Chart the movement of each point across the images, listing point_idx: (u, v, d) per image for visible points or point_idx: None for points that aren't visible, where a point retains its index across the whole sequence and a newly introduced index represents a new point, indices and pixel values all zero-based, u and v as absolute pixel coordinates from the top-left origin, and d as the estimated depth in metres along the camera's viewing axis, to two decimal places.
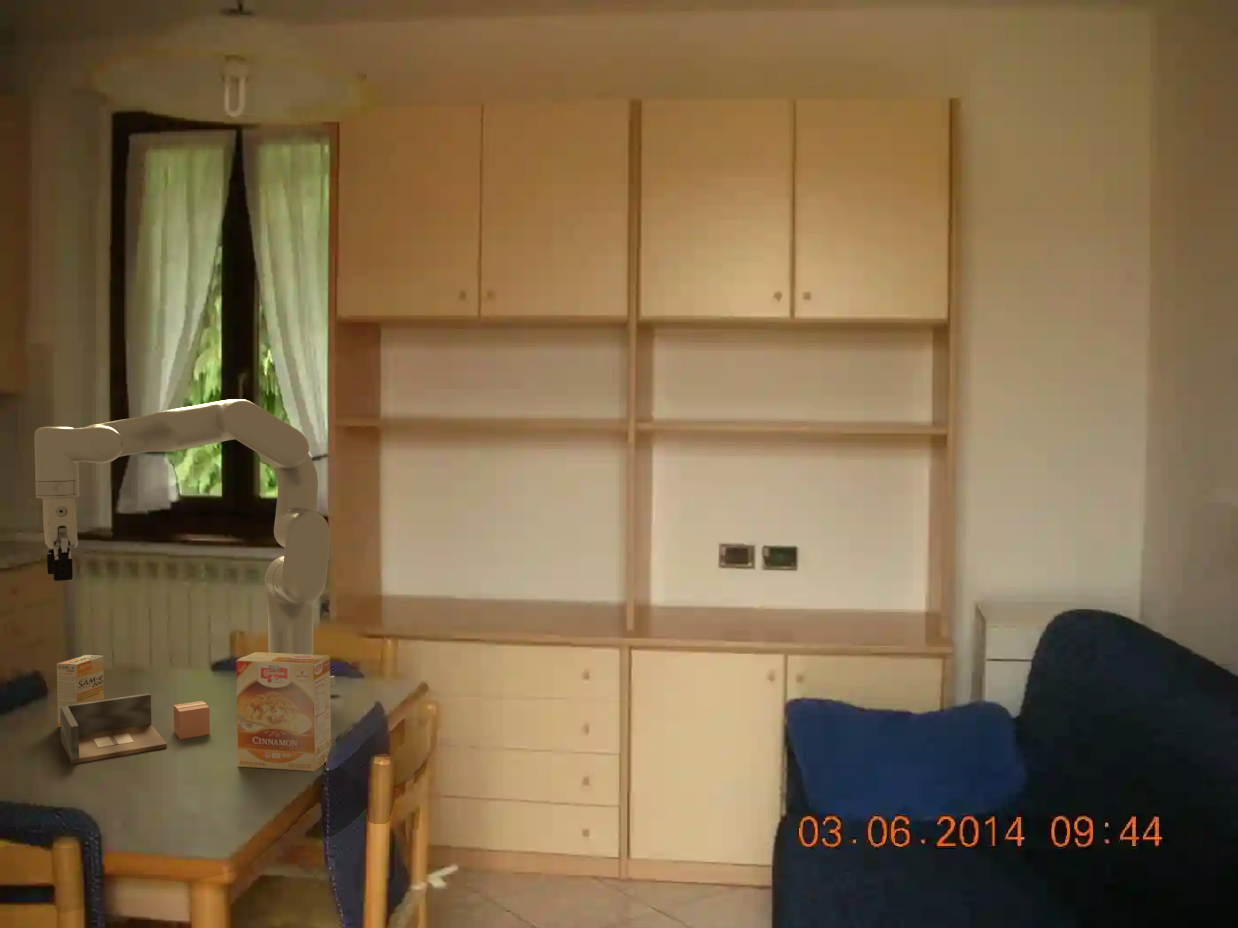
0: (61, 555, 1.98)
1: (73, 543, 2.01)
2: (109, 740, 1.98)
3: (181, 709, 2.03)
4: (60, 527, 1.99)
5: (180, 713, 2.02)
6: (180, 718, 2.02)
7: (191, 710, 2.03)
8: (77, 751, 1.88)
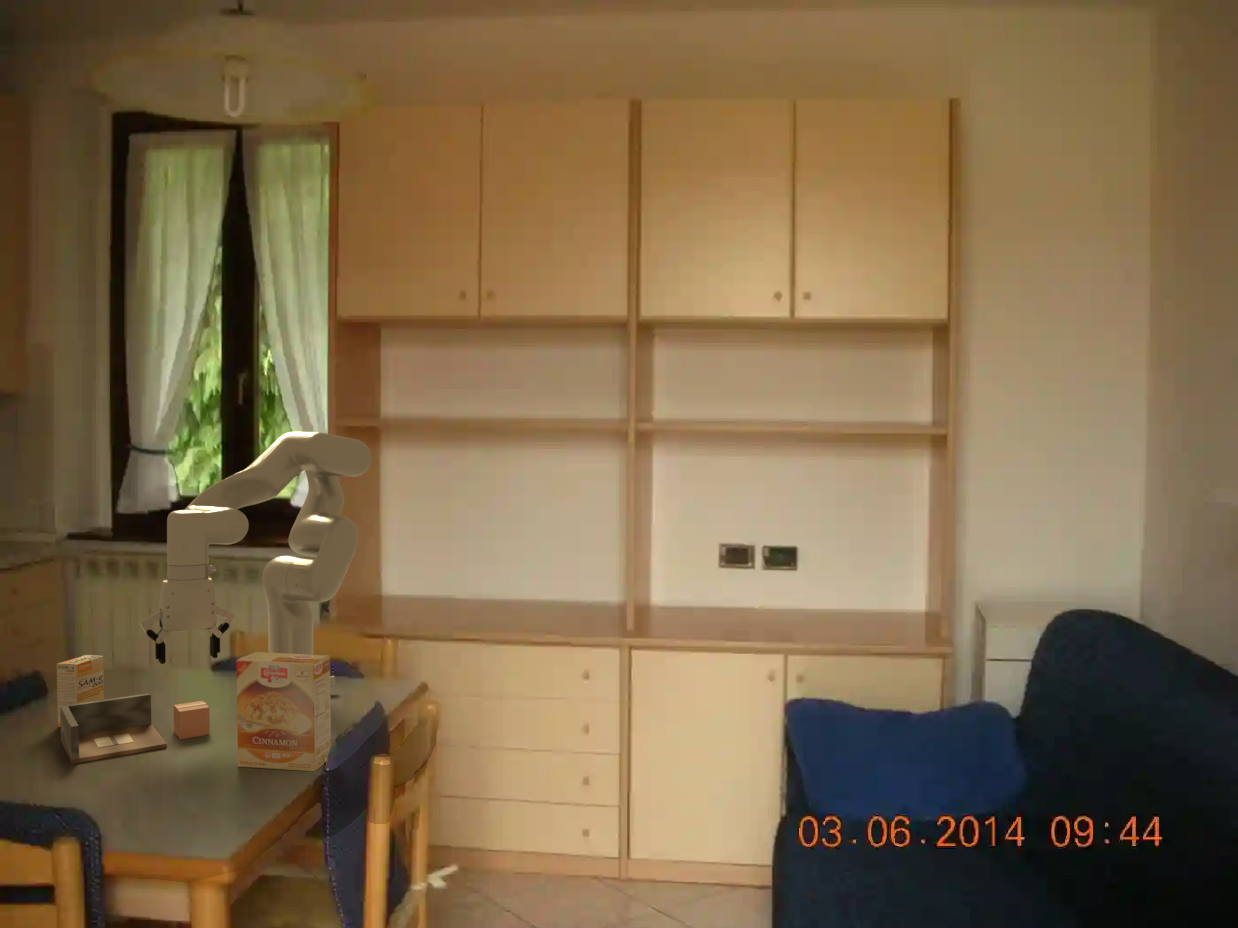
0: None
1: None
2: (109, 740, 1.98)
3: (181, 709, 2.03)
4: None
5: (180, 713, 2.02)
6: (180, 718, 2.02)
7: (191, 710, 2.03)
8: (77, 751, 1.88)
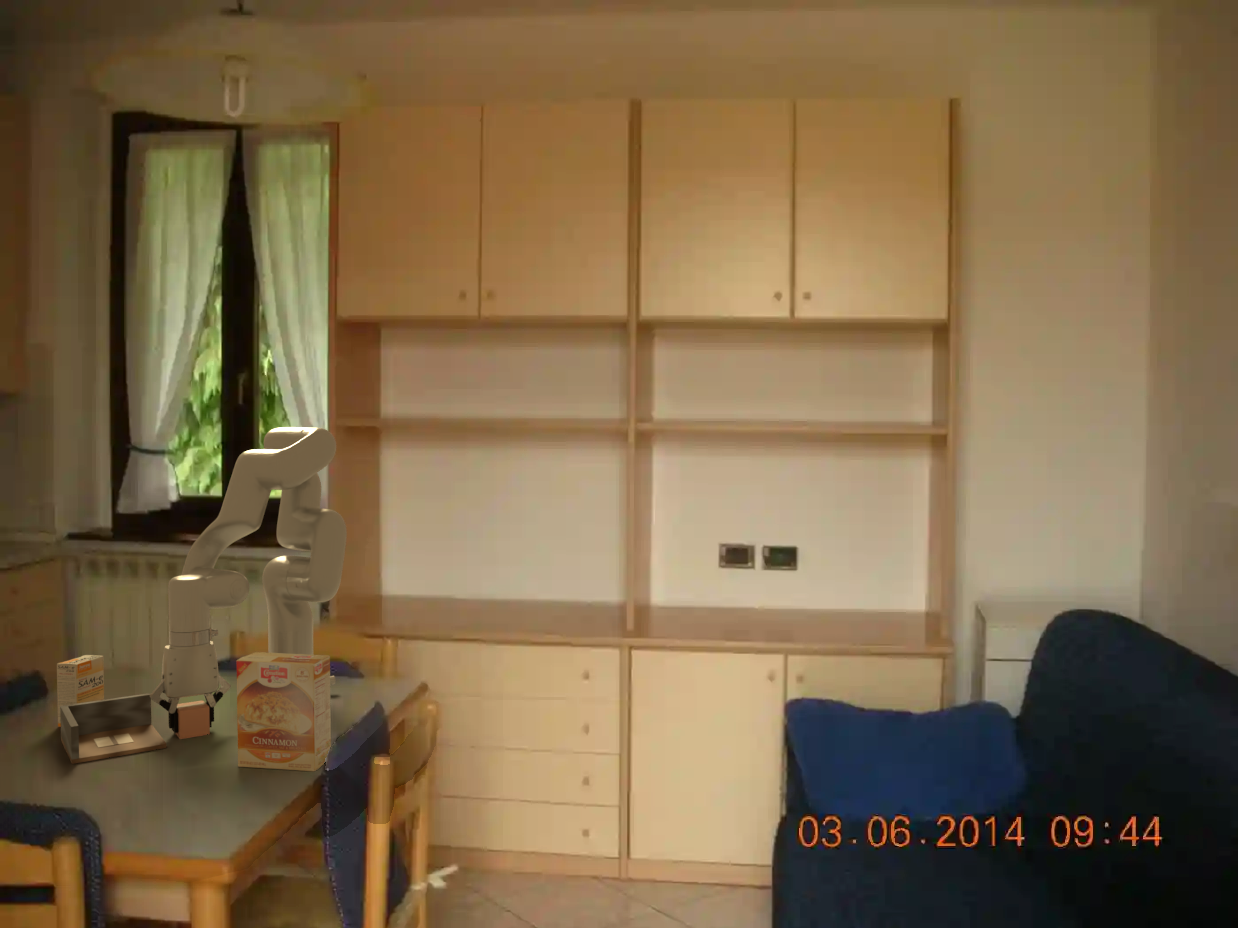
0: None
1: None
2: (109, 740, 1.98)
3: (181, 709, 2.03)
4: None
5: (180, 713, 2.02)
6: (180, 718, 2.02)
7: (191, 710, 2.03)
8: (77, 751, 1.88)
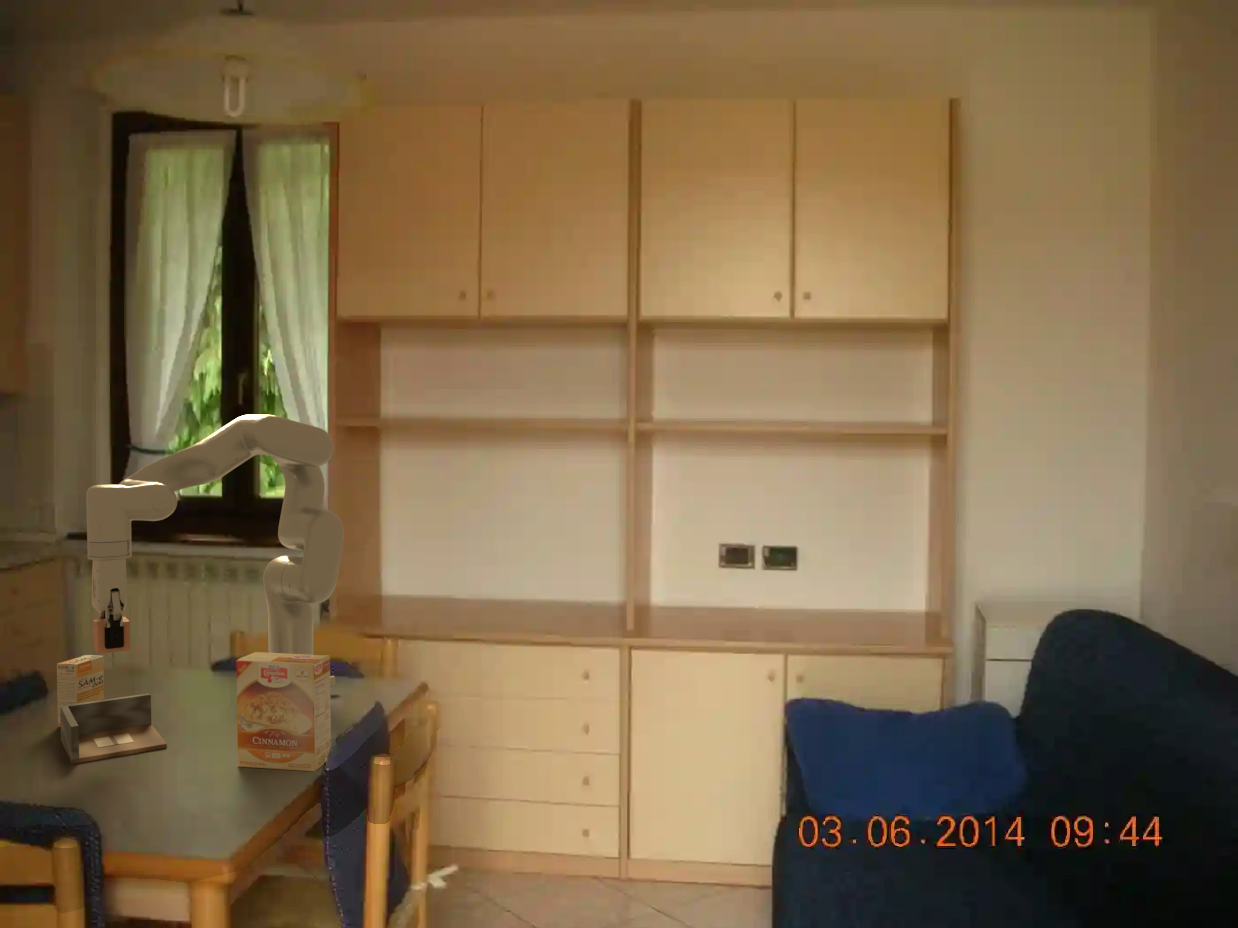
0: None
1: None
2: (109, 740, 1.98)
3: None
4: None
5: (129, 623, 1.97)
6: (129, 628, 1.97)
7: (127, 620, 1.98)
8: (77, 751, 1.88)
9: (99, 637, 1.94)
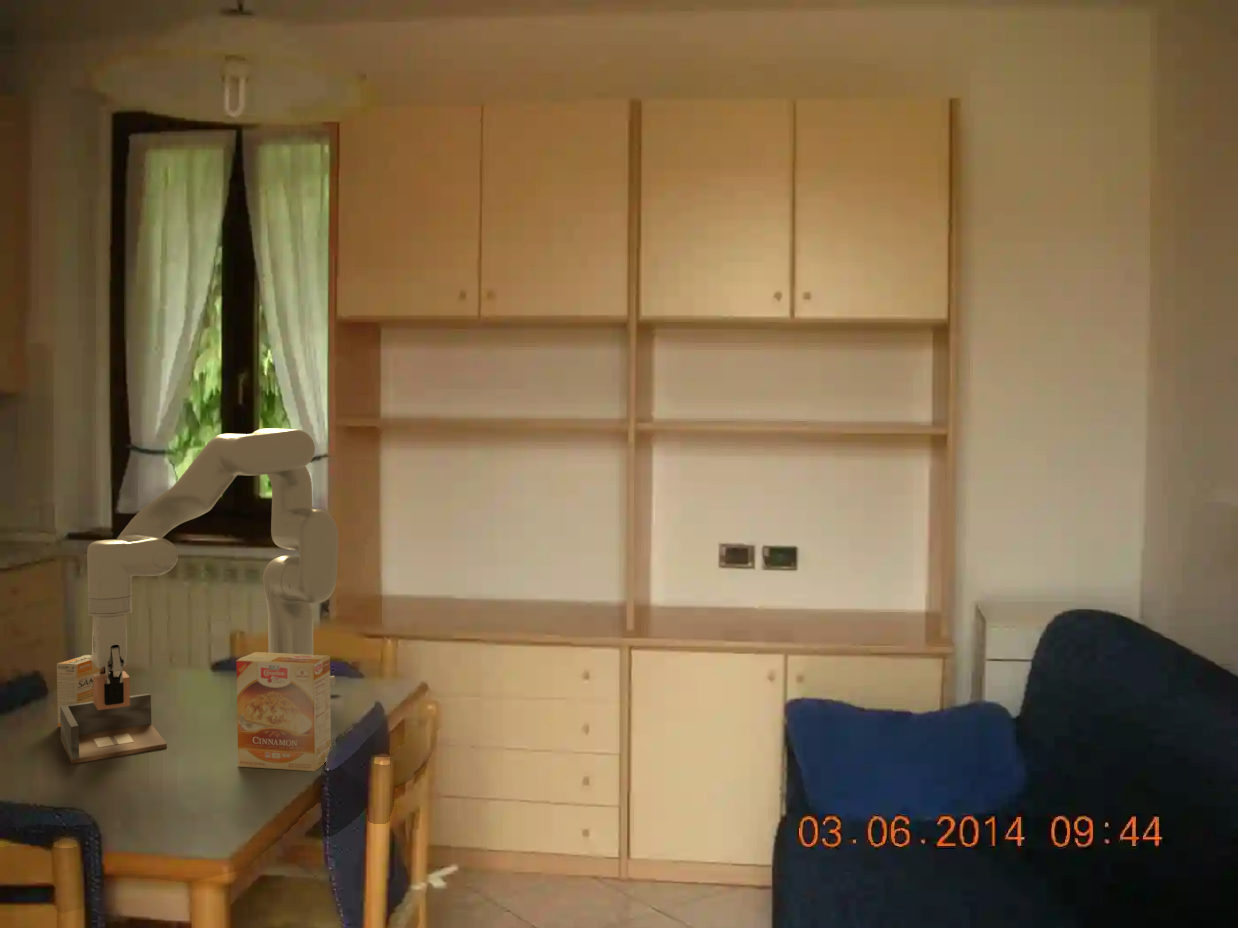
0: None
1: None
2: (109, 740, 1.98)
3: None
4: None
5: None
6: (129, 684, 1.97)
7: None
8: (77, 751, 1.88)
9: (99, 693, 1.94)
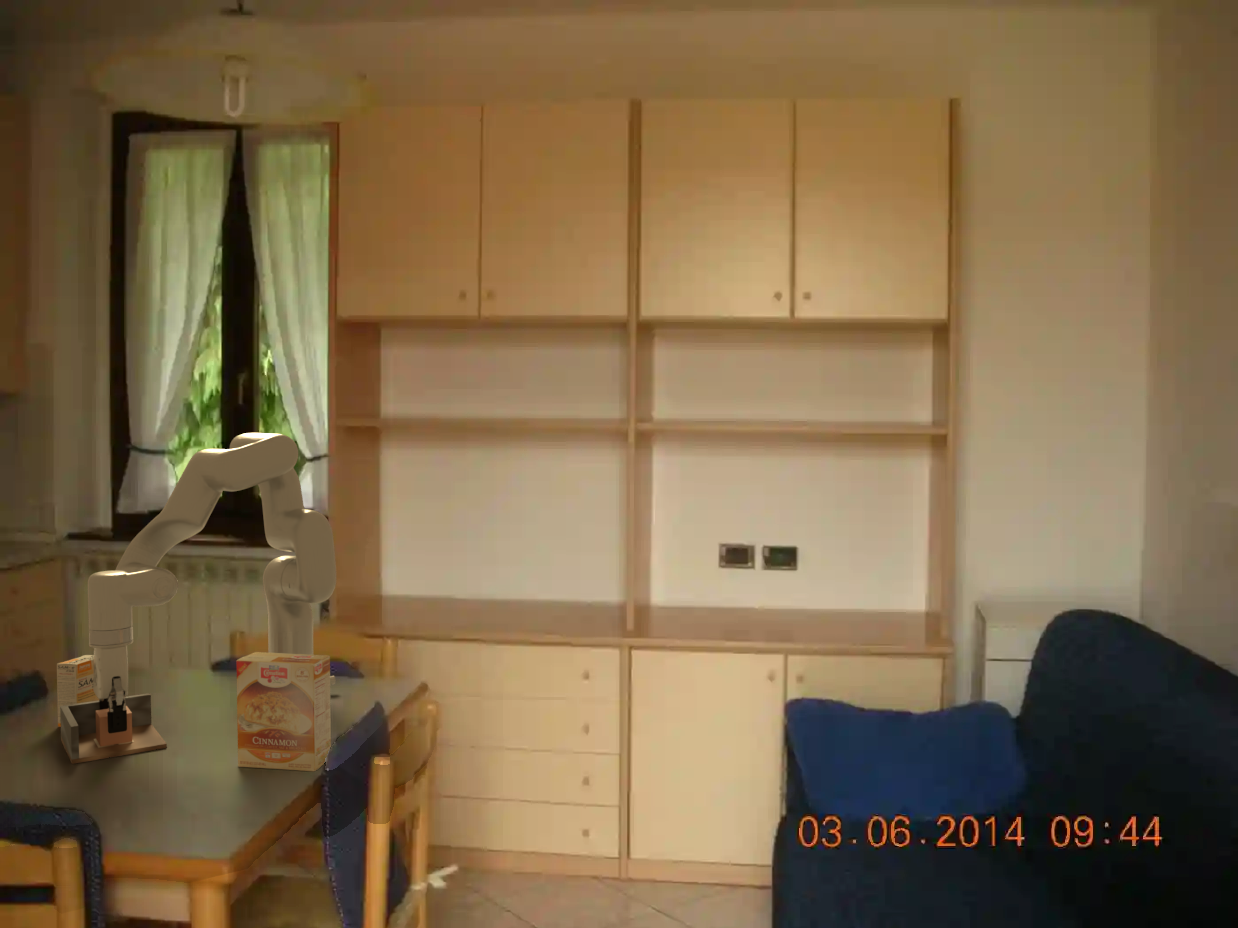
0: None
1: None
2: None
3: None
4: None
5: None
6: (131, 719, 1.98)
7: None
8: (77, 751, 1.88)
9: (101, 730, 1.95)
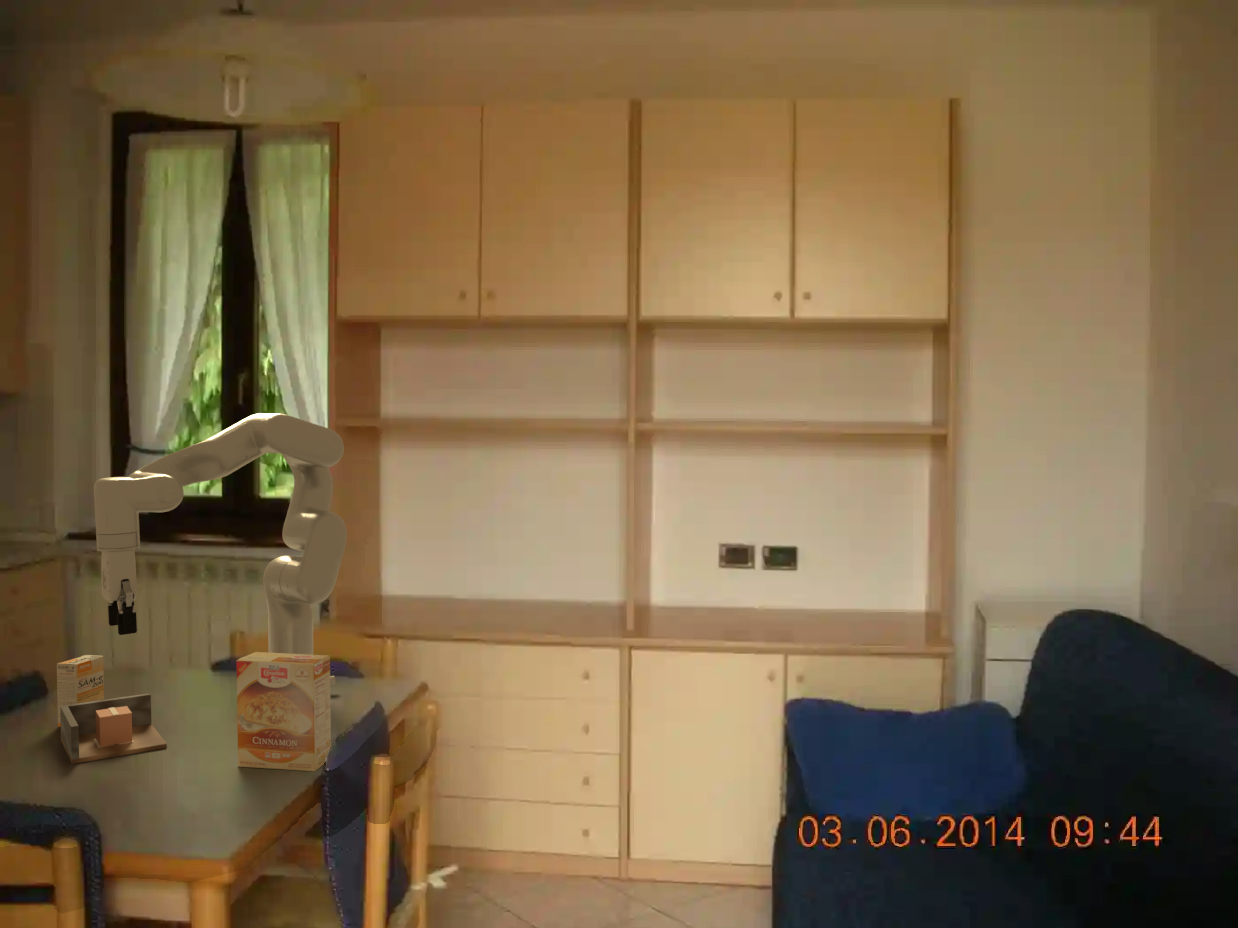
0: None
1: None
2: None
3: (123, 713, 1.97)
4: None
5: None
6: (131, 719, 1.98)
7: None
8: (77, 751, 1.88)
9: (101, 730, 1.95)
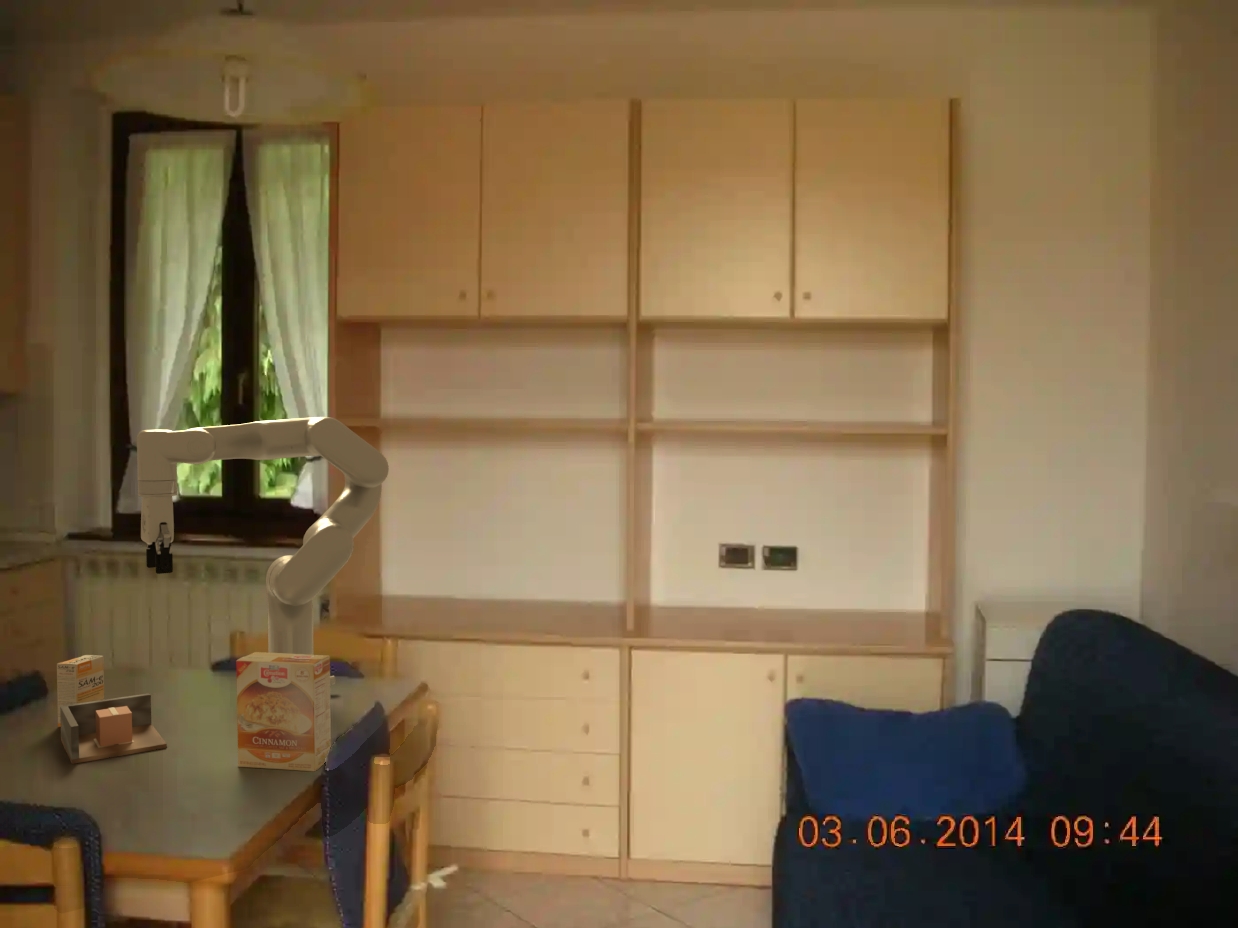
0: None
1: None
2: None
3: (123, 713, 1.97)
4: None
5: None
6: (131, 719, 1.98)
7: None
8: (77, 751, 1.88)
9: (101, 730, 1.95)
